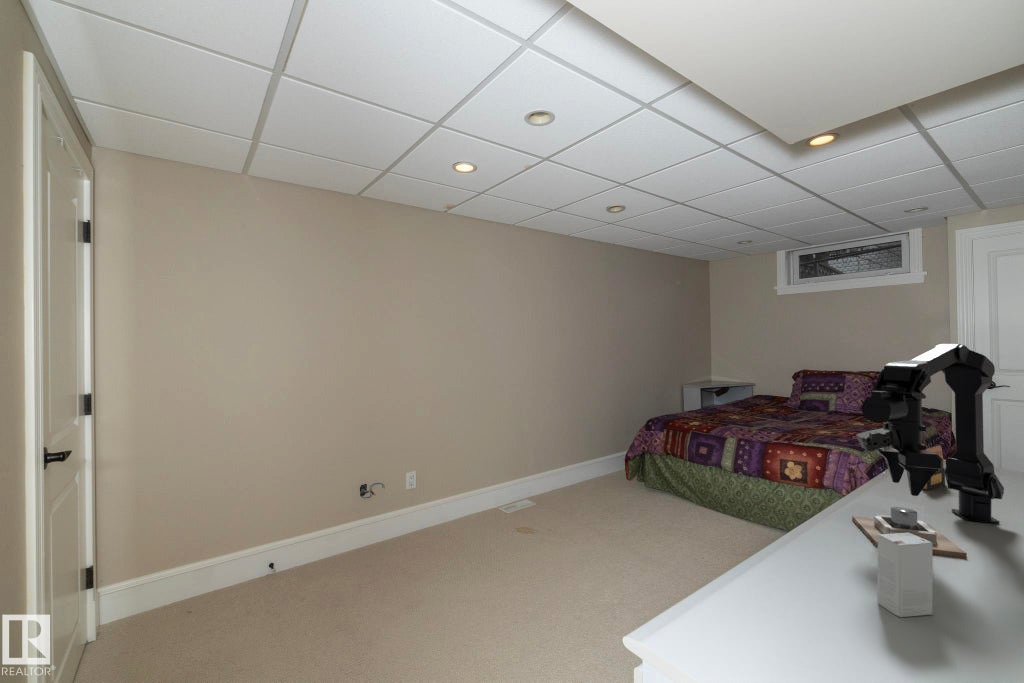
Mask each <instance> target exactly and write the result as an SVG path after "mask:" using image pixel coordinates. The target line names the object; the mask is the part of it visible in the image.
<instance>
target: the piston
mask: <svg viewBox="0 0 1024 683" xmlns="http://www.w3.org/2000/svg"><path fill="white" fill-rule="evenodd" d="M890 516H891V527H892V528H900V529H908V530H917V520H918V511H916V510H914V509H911V508H908V507H903V506H891V507H890Z"/></svg>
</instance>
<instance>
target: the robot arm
mask: <svg viewBox="0 0 1024 683" xmlns="http://www.w3.org/2000/svg"><path fill="white" fill-rule="evenodd" d="M939 372H942V373H943V374H944V380H945V383H946V384H947V385H948V386H949V388H950V389H951V390H952V391H953V392H954V409H955V410H954V414H955V416H954V421H955V422H954V425H955V428H954V430H955V452H954V453H953V454H952V455H951V456H950V457H947V458H946V459H945V467H944V458H943V459H942V458H941V457H940V456H939V455H937V454H935V453H933V452H931V451H928V450H926V449H927V445H926V444H923V443H922V442H923V432H926V431H927V426H925V425H923V424H922V423H923V422H922V420H923V418H922V417H923V416H922V413H923V412H922V410H923V409H922V408H923V406H922V404H923V400H924V399H926V398H927V395H926V394H925V393H923V391H924V389H925V388H926V387H927V386H928V385H929V384H931V383H932V379H931V377H932V376H933V375H936V374H937V373H939ZM995 372H996V368H995V364H994V363H993V362H992V361H991V360H990V359H989V358H988V357H987V356H986V355H984V354H982V353H979V352H976V351H974V350H972V349H969V348H968V346H966V344H964V345H963V344H961V343H940V344H936V345H935V346H934V348H932V349H930V350H928V351H926V352H924V353H922V354H920V355H918V356H916V357H914V358H913V359H910V360H900V361H899V360H898V361H892V362H888V363H886V364H885V365H884V366H883V368H882V369H881V371H880V373H879V375H878V377H877V379H876V382H875V384H874V386H873V388H872V390H871V396H869V397H867V398H866V399H864V401H863V402H862V404H861V408H860V409H861V413H862V415H863V416H864V418H865V419H866V420H868V421H869V422H870V423H871V422H872V423H874V424H879V423H880V424H881V423H882V428H881V427H880V428H877V429H876V428H875V429H872V430H867V431H863V432H859V433H857V434H856V438H857V441H858V442H859V445H860V447H861V449H864V450H865V451H867V452H873V451H874V452H875V451H876V452H877V453H879V455H881V456H882V457H883V458H884V460H885V462H886V466H887V470H888V471H889V474H890V478H891V481H892V482H893V483H895V484H898V483H900V481H901V479H902V476H903V474H904V471H906V477H907V483H908V488H909V493H910V495H912V496H913V497H918V496H919V495H920V493H921V492H922V491H923V490H924V489H923V488H924V486H925V485H926V484H927V482H928V481H929V480H930V478H931V477H932V476H933V475H934V473H935V472H936V471H939V469H942V468H943V467H944V468H945V482H946V486H947V488H948V489H949V490H954V491H958V509H957V508H951V512H952V513H954V514H955V515H957V516H958V517H960V518H962V519H963V520H964V521H972V522H979V523H980V522H981V523H989V524H1000V523H1001V522H1000V521H999V520H998V519H997V518H994V517H993V516H992V513H993V512H992V500H995V499H996V500H1002V499H1003V497H1004V494H1005V487H1004V485H1003V484H1002V483H1001V481H1000V479H999V478H998V476H997V475H996V474H995V466H994V463H992V461H991V460H990V458H988V456H987V454H985V449H984V411H983V410H984V404H983V403H984V402H983V400H984V399H983V396H984V395H983V394H984V393H985V392H986V390H988V388H989V387H990V386H991V384H992V382H993V377H994V375H995Z"/></svg>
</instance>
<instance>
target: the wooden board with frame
mask: <svg viewBox="0 0 1024 683" xmlns="http://www.w3.org/2000/svg"><path fill="white" fill-rule="evenodd" d="M851 517H852V518H851V520H852V521H853V523H854V524H855V525H856V526H857V527H858V528H859V529H860V530H861V531H862V533H864V535H865V536H866V537H867V539H869V541H870V542H872V544H873V545H874V546H875V547H877V548H878V535H879V534H895V533H911V534H914V535H916V536H918V537H921V538H923V539H925V540H928V541H930V542H932V545H933V547H932V555H939V556H946V557H954V558H955V557H956V558H963V559H967V558H968V557H967V552H966V551H964V550H963V549H962V548H960V547H959V546H958V545H957V544H956V543H954V542H953V541H952V540H950V539H949V538H948V537H947V536H945V535H944V534H943V533H941V532H940V531H939V530H937V529H936V528H935V527H933V526H932V525H931V524H930V523H925V522H924V521H922V520H918V519H917V530H908V529H900V528H892V527H891V515H885V514H878V513H877V514H874V517H865V516H857V515H852V516H851Z"/></svg>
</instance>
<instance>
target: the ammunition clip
mask: <svg viewBox="0 0 1024 683" xmlns="http://www.w3.org/2000/svg"><path fill="white" fill-rule="evenodd" d="M926 450H928V451H931V452H933V453H935V454H937V455H939V456H940V457H941V458H942V459H943V460H944V456H943V455H944V454H943V449H942V446H941V444H938V445H935V446H933V447H932V446H931V447H928V448H926ZM945 468H946V467H944V466H943V468H942V469H939V471H936V472H935V473H934V475H933V476H932V477H931V478H930V480H929V481H928V482H927V484H926V485H925V486H924V488H923V489H922V490H925V491H928V490H929V491H932V490H935V489H937V487H938V488H941V487H943V486H942V485H944V486H945V485H946V476H945ZM940 486H941V487H940ZM934 488H935V489H934Z"/></svg>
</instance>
